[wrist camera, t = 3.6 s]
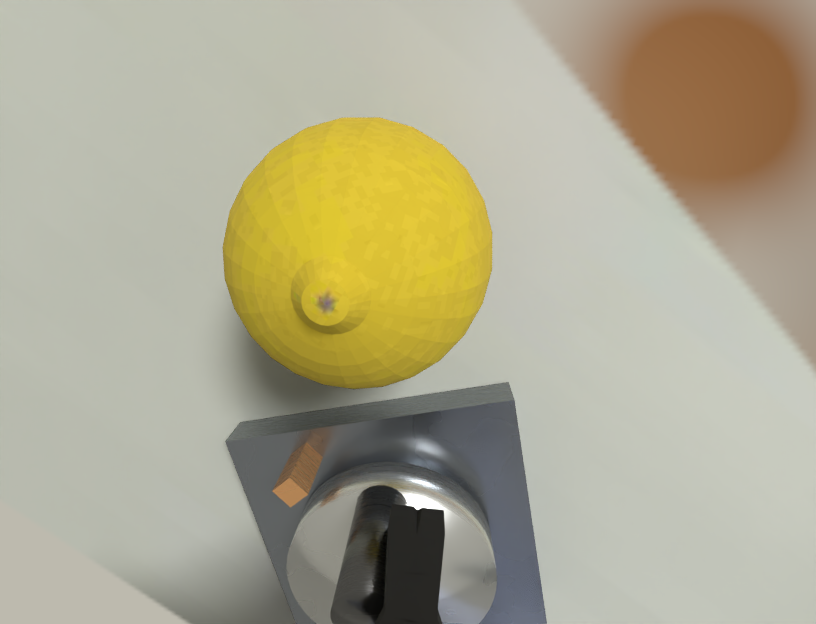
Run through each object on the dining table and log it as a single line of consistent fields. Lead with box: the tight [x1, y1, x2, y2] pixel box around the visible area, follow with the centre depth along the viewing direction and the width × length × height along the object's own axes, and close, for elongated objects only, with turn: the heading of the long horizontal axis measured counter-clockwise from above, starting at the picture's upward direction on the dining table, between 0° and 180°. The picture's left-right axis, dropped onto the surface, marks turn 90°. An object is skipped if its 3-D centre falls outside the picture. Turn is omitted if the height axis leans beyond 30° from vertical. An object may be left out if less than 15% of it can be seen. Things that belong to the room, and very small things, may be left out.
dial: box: [287, 462, 497, 624], centre depth 13 cm, size 7×7×5 cm
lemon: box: [223, 118, 492, 389], centre depth 10 cm, size 6×6×8 cm
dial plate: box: [226, 382, 547, 624], centre depth 16 cm, size 10×10×3 cm
